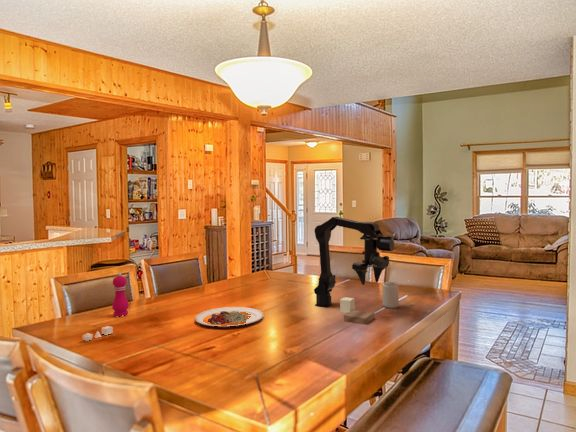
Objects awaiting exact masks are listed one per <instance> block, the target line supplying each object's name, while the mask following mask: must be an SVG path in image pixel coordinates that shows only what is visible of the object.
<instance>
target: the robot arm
mask: <svg viewBox="0 0 576 432" xmlns="http://www.w3.org/2000/svg"><path fill="white" fill-rule="evenodd" d="M337 226H338V227H343V228H347V229H349V230H350V229H351V230H355V231H358V232H359V233H361V234H362V236H361V237H359V239H360V240H363V241H364V242H363V243H364V249H363V250H364V251H362V255H363V260H362V261H361V262H359V261H358V262H353V263H352V264H351V270H353V271H355V273H356V274H357V276H358V278H359V280H360V283H361V285H363V286H365V283H366V273H367V272H368V268H372V270H373V274H374V280H375V282H376V283H379V279H380V277H381V274H382V272H383V271H384V270H385V269H387V267H389V264H390V257H389V256H388V255H384V256H381V255H380V252H379V251H382V252H393V251H394V249H395V242H394V239H393V235H384V234H383V232H382V231H381V229H380V226H379V224H378V223H377V222H375V221H358V220H354V219H348V218H343V217H339V216H333V217H331V218H330V219H327V221H325V222H323V223H322V224H319V225H317V226H315V228H314V235H315V239H316V241H317V243H318V249H319V262H320V274H319V277H318V283H317V286H316V287H315V288H314V289H313V292H314V294H315V295H316V296H315V297H316V298H315V299H316V303H315V304H314V306H317V307H323V308H327V307H330V306H331V305H332V304H333V303H332V296H331V293H332V292H333V289H334V288H335V286H336V284H337V281H336V274H333V273H332V269H331V255H330V241H331V237H332V231H333V230H334V229H336V228H337Z"/></svg>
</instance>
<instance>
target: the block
mask: <svg viewBox="0 0 576 432" xmlns="http://www.w3.org/2000/svg"><path fill="white" fill-rule="evenodd" d="M339 307H340V309H339V310H340V311H339V312H340V313H344V314H347V313H349V312H351V311H352V310H356V309H355V308H356V306H355V298H354V297H346V296H344V297H342V298H340V300H339Z"/></svg>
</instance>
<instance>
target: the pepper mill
mask: <svg viewBox="0 0 576 432" xmlns="http://www.w3.org/2000/svg"><path fill="white" fill-rule="evenodd" d="M112 285H113V286H114V287H113V288H114V289H113V290H114V292H115V293H114V294H115V296H114V299H113V302H112V305H111V307H112V310H113V317H114V316H122V315H127V314H128V315H129V310H128V309H129V307H130V306H129V305H130V303H129V301H128V298H127V296H126V293H125V291H126V290H127V289H126V287H127V286H126V285H127V278H126V277H125V276H122V273H121V272H118V273H117V276H115V277H114V278H113V279H112ZM128 315H127V316H128Z"/></svg>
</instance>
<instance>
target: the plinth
mask: <svg viewBox="0 0 576 432" xmlns="http://www.w3.org/2000/svg"><path fill="white" fill-rule="evenodd" d="M374 320H375V312H372V311H364V310H356V309H355V310H352V311H351V312H349V313H345V314H344V315H343V322H348V323H352V324H360V325H367V324H369V323H371V322H372V321H374Z"/></svg>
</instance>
